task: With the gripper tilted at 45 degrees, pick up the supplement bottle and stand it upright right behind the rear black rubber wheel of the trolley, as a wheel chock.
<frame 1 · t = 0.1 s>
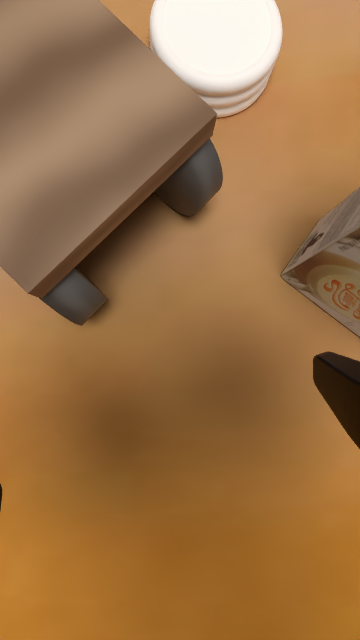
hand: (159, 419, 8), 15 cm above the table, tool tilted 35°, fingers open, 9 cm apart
coaster: (210, 68, 25), on the table
trolley: (77, 192, 23), on the table
coffee box: (341, 280, 24), on the table
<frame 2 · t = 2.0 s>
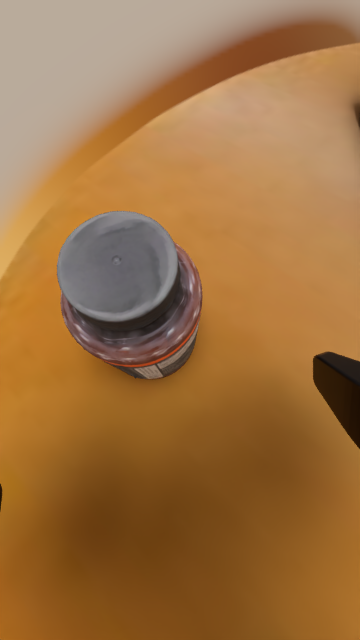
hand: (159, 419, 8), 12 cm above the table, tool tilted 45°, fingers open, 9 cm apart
supplement bottle: (152, 337, 21), on the table
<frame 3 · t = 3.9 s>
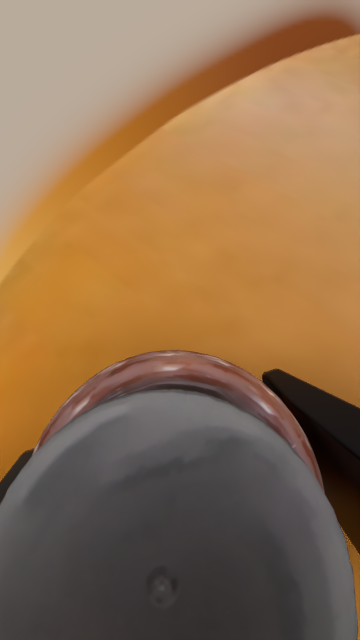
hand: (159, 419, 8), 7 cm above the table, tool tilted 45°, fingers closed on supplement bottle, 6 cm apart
supplement bottle: (179, 441, 14), on the table, touching gripper
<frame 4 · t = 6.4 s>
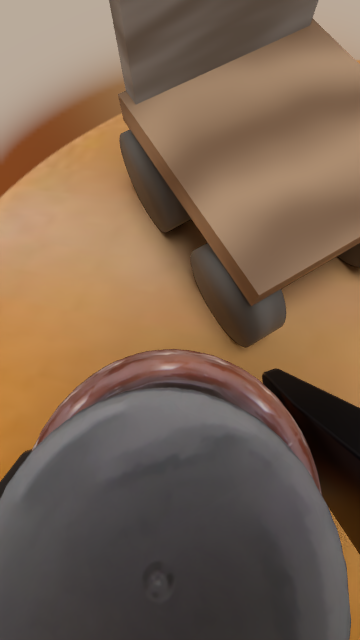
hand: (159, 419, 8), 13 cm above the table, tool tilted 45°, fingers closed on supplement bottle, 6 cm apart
supplement bottle: (178, 440, 14), point 6 cm above the table, touching gripper
trolley: (249, 225, 24), on the table
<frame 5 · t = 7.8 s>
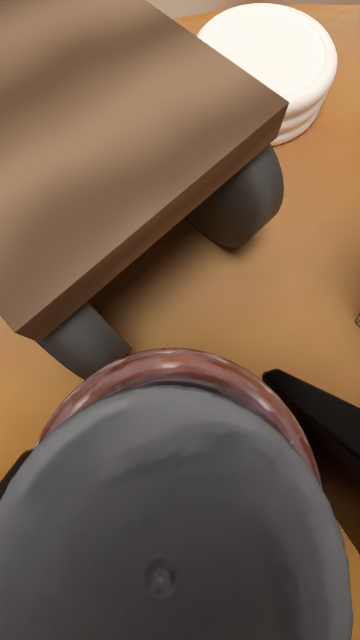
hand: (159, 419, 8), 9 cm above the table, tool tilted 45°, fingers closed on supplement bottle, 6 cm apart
coaster: (252, 102, 23), on the table
supplement bottle: (178, 439, 14), point 3 cm above the table, touching gripper
trolley: (103, 224, 20), on the table
when the fingers open (7 cm above the table, at t = 9.0 s): supplement bottle stays where it is, on the table.
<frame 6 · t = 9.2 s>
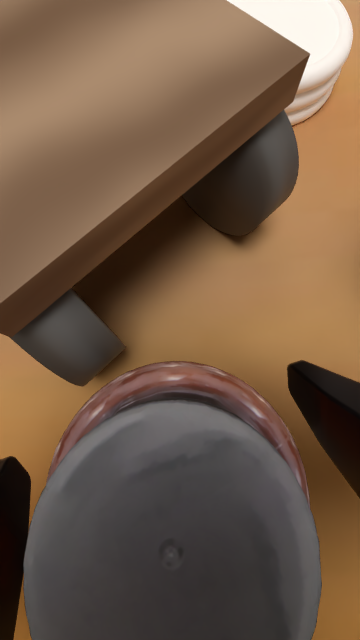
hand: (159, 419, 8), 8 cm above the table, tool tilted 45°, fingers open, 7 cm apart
coaster: (259, 83, 22), on the table
supplement bottle: (180, 441, 15), on the table
trolley: (96, 212, 18), on the table
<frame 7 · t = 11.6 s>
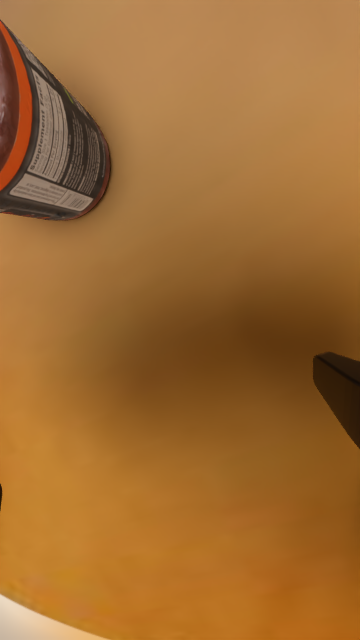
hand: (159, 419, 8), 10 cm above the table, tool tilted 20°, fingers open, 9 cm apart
supplement bottle: (63, 166, 16), on the table
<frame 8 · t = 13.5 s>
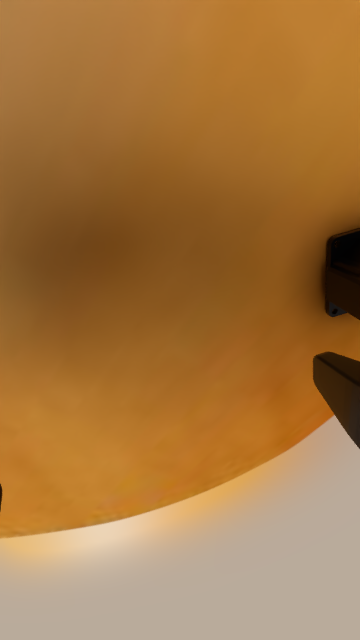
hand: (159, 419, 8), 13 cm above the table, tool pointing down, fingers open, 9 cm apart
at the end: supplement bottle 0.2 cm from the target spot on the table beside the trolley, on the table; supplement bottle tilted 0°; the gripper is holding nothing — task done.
